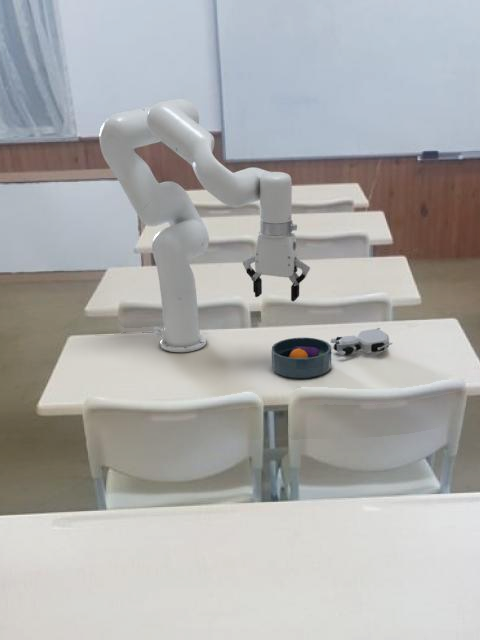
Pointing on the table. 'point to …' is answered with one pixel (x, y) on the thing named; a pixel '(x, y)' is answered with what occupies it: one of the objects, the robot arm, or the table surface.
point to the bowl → (300, 366)
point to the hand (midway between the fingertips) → (276, 297)
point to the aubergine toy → (309, 351)
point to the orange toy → (298, 353)
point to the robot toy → (362, 342)
